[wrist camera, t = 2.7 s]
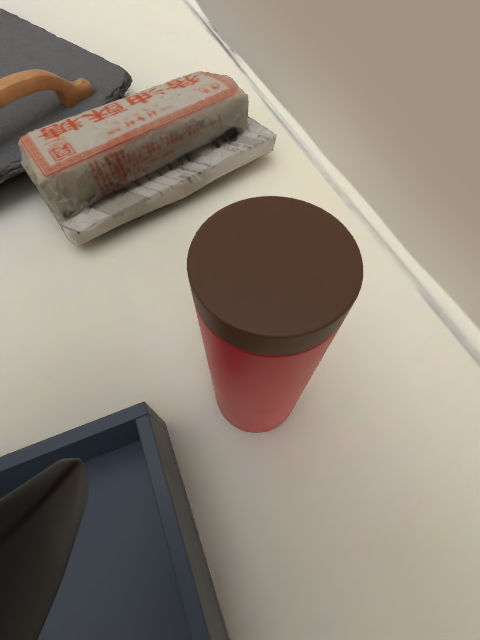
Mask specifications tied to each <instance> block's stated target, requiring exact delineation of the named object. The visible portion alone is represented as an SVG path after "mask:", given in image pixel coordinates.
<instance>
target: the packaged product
mask: <svg viewBox="0 0 480 640" xmlns="http://www.w3.org/2000/svg"><path fill="white" fill-rule="evenodd" d="M275 140H276V134H275V133H273V132H272V131H270V130H269V129H268V128H266V127H264V126H262V125H261V124H259V123H258V122H257V121H255V120H253V119H251V118H250V117H248V95H247V94H245V93H244V91H243V90H242V89H241V88H239V86H238V85H237V84H236V82H235V81H234V80H233V79H232V78H231V77H229V76H227V75H218V74H211V73H209V72H202V71H201V72H196V73H191V74H189V75H186V76H183V77H180V78H177V79H174V80H171V81H169V82H166V83H164V84H162V85H158V86H154V87H152V88H149V89H147V90H144V91H142V92H140V93H136V94H134V95H131V96H127V97H125V98H123V99H119V100H116V101H114V102H111V103H108V104H105V105H103V106H100V107H97V108H94V109H91V110H89V111H85V112H83V113H80V114H79V115H76V116H72V117H69V118H66V119H63V120H61V121H59V122H56V123H53V124H50V125H47V126H45V127H42V128H40V129H36V130H34V131H32V132H29V133H28V134H26V135H24V136H22V137H20V140H19V143H18V145H19V148H20V150H21V154H22V155H21V157H22V160H21V162H20V163H21V164H22V166H23V167H24V169H25V170H26V172H27V174H28V175H29V177H30V179H31V180H32V182H33V183H34V185H35V186H36V188H37V190H38V192H39V193H40V195H41V196H42V198H43V199H44V201H45V202H46V204H47V205H48V207H49V208H50V210H51V211H52V213H53V214H54V216H55V217H56V219H57V221H58V223H59V224H60V226H61V228H62V229H63V231H64V233H65V234H66V236H67V238H68V239H69V240H70V241H71V242H72V243H74V244H75V245H76V246H77V247H78V246H80V245H82V244H84V243H86V242H88V241H90V240H92V239H94V238H96V237H98V236H100V235H101V234H103V233H105V232H107V231H109V230H111V229H113V228H115V227H118V226H120V225H122V224H124V223H127V222H129V221H131V220H133V219H136V218H138V217H140V216H142V215H144V214H147V213H149V212H151V211H153V210H156V209H158V208H160V207H163V206H165V205H168V204H170V203H173V202H175V201H178V200H180V199H182V198H185V197H187V196H189V195H190V194H192V193H194V192H195V191H197V190H198V189H200V188H202V187H203V186H205V185H207V184H208V183H210V182H212V181H213V180H215V179H217V178H219V177H221V176H223V175H225V174H227V173H229V172H231V171H233V170H235V169H237V168H239V167H241V166H243V165H245V164H247V163H249V162H251V161H253V160H255V159H257V158H259V157H261V156H263V155H265V154H267V153H269V152H271V151H273V148H274V144H275Z"/></svg>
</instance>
